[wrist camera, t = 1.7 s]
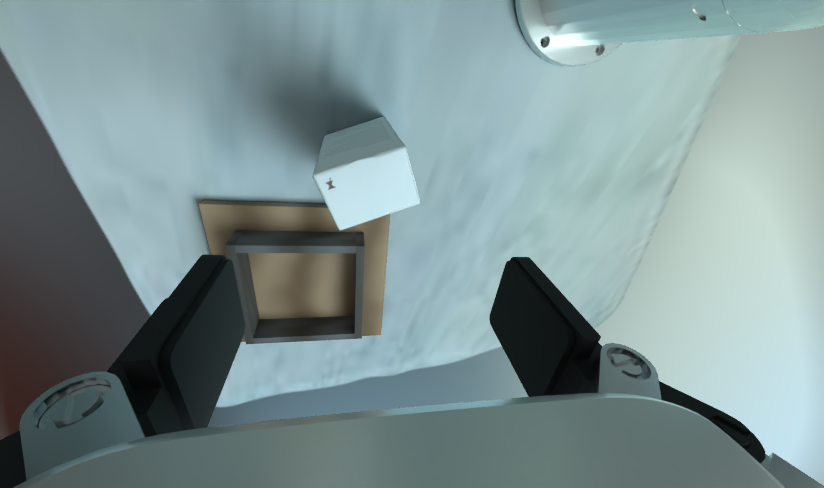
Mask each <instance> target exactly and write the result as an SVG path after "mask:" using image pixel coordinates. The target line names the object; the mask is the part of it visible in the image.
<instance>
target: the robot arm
mask: <svg viewBox="0 0 824 488" xmlns="http://www.w3.org/2000/svg"><path fill="white" fill-rule="evenodd" d="M515 7H516V12H517V17H518V22H519V25H520V28H521V30H522V33H523V36H524V38H525V39H526V41H527V42H528V44H529V46H530V47H531V49H532V50H533V51H535V52H536V53H537V54H538V55H539V56H540V57H541V58H543V59H544V60H546V61H548V62H550V63H553V64H556V65H560V66H581V65H586V64H589V63H592V62H596V61H598V60H600V59H602V58H603V57H605V56H607V55H609V54H610V53H612V52H613V51H614V50H615V49H617V48H618V47H619V46H620V45H622V44H623V43H630V42H644V41H658V40H671V39H685V38H699V37H713V36H727V35H741V34H754V33H768V32H778V31H791V30H802V29H809V28H816V27H821V26H824V0H515ZM541 40H542V44H541V45H540V41H541ZM490 324H491V326H492V328H493V330H494V332H495V334H496V336H497V337H498V339H499V341H500V343H501V345H502V347H503V349H504V351H505V353H506V355H507V356H508V358H509V360H510V362H511V364H512V366H513V368H514V370H515V372H516V373H517V375H518V377H519V379H520V381H521V383H522V385H523V387H524V389H525V390H526V392H527V394H528V396H529V397H525V398H524V397H523V398H512V399H499V400H489V401H488V400H487V401H476V402H464V403H453V404H441V405H431V406H419V407H408V408H397V409H386V410H376V411H364V412H353V413H343V414H332V415H322V416H311V417H301V418H291V419H280V420H270V421H260V422H251V423H242V424H233V425H225V426H215V427H207V426H208V424H209V421H210V418H211V416H212V413H213V411H214V408H215V406H216V403H217V401H218V398H219V396H220V393H221V391H222V388H223V386H224V383H225V381H226V378H227V376H228V373H229V371H230V368H231V366H232V363H233V361H234V358H235V356H236V353H237V351H238V348H239V346H240V343H241V341H242V338H243V335H244V332H245V321H244V316H243V311H242V306H241V301H240V296H239V291H238V286H237V281H236V276H235V271H234V266H233V262H232V260H230V259H226V257H225V256H224V255H202V256H201V257H200V258H199V259H198V260H197V262H196V263H195V264H194V266H193V267H192V268H191V269H190V271H189V272H188V273H187V275H186V276H185V277H184V278H183V280H182V281H181V282H180V283H179V285H178V286H177V287H176V289H175V290H174V291H173V292H172V294H171V295H170V296H169V298H167V299H165V300H164V301H163V302H162V303H161V304H160V305H159V306H158V308H157V309H156V310H155V311H154V313H153V314H152V315H151V317H150V318H149V319H148V320H147V322H146V323H145V324H144V325H143V327H142V328H141V329H140V330H139V332H138V333H137V334H136V335H135V337H134V338H133V339H132V341H131V342H130V343H129V344H128V346H127V347H126V348H125V349H124V351H123V352H122V353H121V354H120V356H119V357H118V358H117V359H116V361H115V362H114V363H113V364H112V366H111V367H110V368H109V370H108V371H107V372H93V373H87V374H82V375H79V376H77V377H74V378H71V379H68V380H66V381H64V382H62V383H60V384H58V385H56V386H54V387H52V388H51V389H50V390H48V391H47V392H45V393H44V394H42V395H41V396H39V397H38V398H37V399H36V400H35V401H34V402H33V403H32V404H31V405H30V406H29V407H28V408H27V410H26V411H25V413H24V414H23V416H22V417H21V421H20V427H19V428H20V430H19V431H17V432H15V433H13V434H11V435H10V436H8V437H6V438H4V439H2V440H0V488H824V486H823V485H821V484H820V483H818V482H817V481H815V480H814V479H812V478H811V477H809V476H808V475H806V474H805V473H803V472H802V471H800V470H799V469H797V468H796V467H794V466H792V465H791V464H789V463H788V462H786V461H785V460H783V459H782V458H780V457H779V456H777V455H776V454H774V453H772V454H771V455H769V456H767V455H766V454H765V451H764V448H763V446H762V445H761V443H760V442H759V440H758V439H757V438H756V437H755V435H754V434H753V433H752V432H750V431H749V429H748V428H746V426H745V425H743V424H742V423H741V422H740V421H738V420H737V419H735V418H733V417H731V416H729V415H728V414H725V413H724V412H722V411H720V410H718V409H716V408H713V407H712V406H709V405H707V404H705V403H703V402H701V401H699V400H697V399H695V398H693V397H691V396H689V395H687V394H685V393H683V392H680V391H678V390H676V389H674V388H672V387H670V386H668V385H666V384H664V383H662V382H660V381H659V380H658V374H657V372H656V369H655V368H654V366H653V365H652V364H651V362H650V361H648V360H647V359H646V358H645V357H644V356H643V355H641V354H640V353H638V352H637V351H635V350H633V349H631V348H629V347H627V346H624V345H621V344H615V343H610V344H605V345H604V346H603V347H602V346H601V345H600V344H599V343H598V341H599V340H600V338H601V336H600V335H599V334H598V333H597V332H596V331H595V330H594V328H593V327H592V326H591V325H590V324H589V323H588V322H587V321H586V320H585V318H584V317H583V316H582V315H581V314H580V313H579V312H578V311H577V310H576V309H575V307H574V306H573V305H572V304H571V303H570V302H569V301H568V300H567V299H566V298H565V296H564V295H563V294H562V293H561V292H560V291H559V290H558V289H557V288H556V286H555V285H554V284H553V283H552V282H551V281H550V280H549V279H548V278H547V277H546V275H545V274H544V273H543V272H542V271H541V270H540V269H539V268H538V267H537V266H536V264H535V263H534V262H533V261H532V260H531V259H530V258H529V257H513V258H511V260H510V261H507V263H506V265H505V268H504V271H503V274H502V278H501V281H500V284H499V287H498V291H497V294H496V297H495V300H494V304H493V307H492V310H491V313H490Z"/></svg>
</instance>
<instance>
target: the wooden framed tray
mask: <svg viewBox="0 0 824 488" xmlns="http://www.w3.org/2000/svg"><path fill="white" fill-rule="evenodd" d="M199 207H200V212H201V216H202V220H203V224H204V228H205V232H206V236H207V240H208V244H209V248H210V252H211V255H224V256H225V257H226V259H230V260H232V262H233V266H234V271H235V276H236V281H237V286H238V291H239V296H240V301H241V306H242V311H243V316H244V321H245V332H244V335H243V338H242V341H241V342H245V341H246V344H258V343H278V342H298V341H318V340H338V339H358V338H362V336H369V335H381V328H382V315H383V302H384V289H385V276H386V263H387V250H388V237H389V224H390V214H387V215H384V216H382V217H379V218H376V219H373V220H370V221H367V222H364V223H361V224H358V225H355V226H352V227H349V228H346V229H343V230H339V229H338V228H337V226H336V223H335V221H334V219H333V217H332V215H331V213H330V211H329V209H328V207H327V205H326V204H311V203H280V202H250V201H219V200H202V201H201V202H200V203H199Z"/></svg>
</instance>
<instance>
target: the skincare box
mask: <svg viewBox="0 0 824 488" xmlns="http://www.w3.org/2000/svg"><path fill="white" fill-rule="evenodd" d="M313 179H314V181H315V183H316V185H317V187H318V189H319V191H320V193H321V195H322V197H323V199H324V201H325V203H326V205H327V207H328V209H329V211H330V213H331V215H332V217H333V219H334V221H335V223H336V226H337V228H338V229H339V230H343V229H346V228H349V227H352V226H355V225H358V224H361V223H364V222H367V221H370V220H373V219H376V218H379V217H382V216H384V215H387V214H390V213H393V212H396V211H399V210H402V209H405V208H408V207H411V206H414V205H417V204H420V198H419V194H418V190H417V186H416V182H415V178H414V175H413V171H412V167H411V163H410V159H409V156H408V152H407V148H406V146H405V145H404V143H403V142H402V141H401V140H400V138H399V137H398V135H397V134H396V132H395V131H394V129H393V128H392V126H391V125H390V124H389V122H388V121H387V119H386V118H385V117H380V118H377V119H374V120H371V121H368V122H365V123H362V124H358V125H355V126H352V127H349V128H346V129H343V130H340V131H337V132H334V133H331V134H328V135H325V136H324V139H323V142H322V146H321V149H320V152H319V156H318V159H317V163H316V166H315V169H314V172H313Z"/></svg>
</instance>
